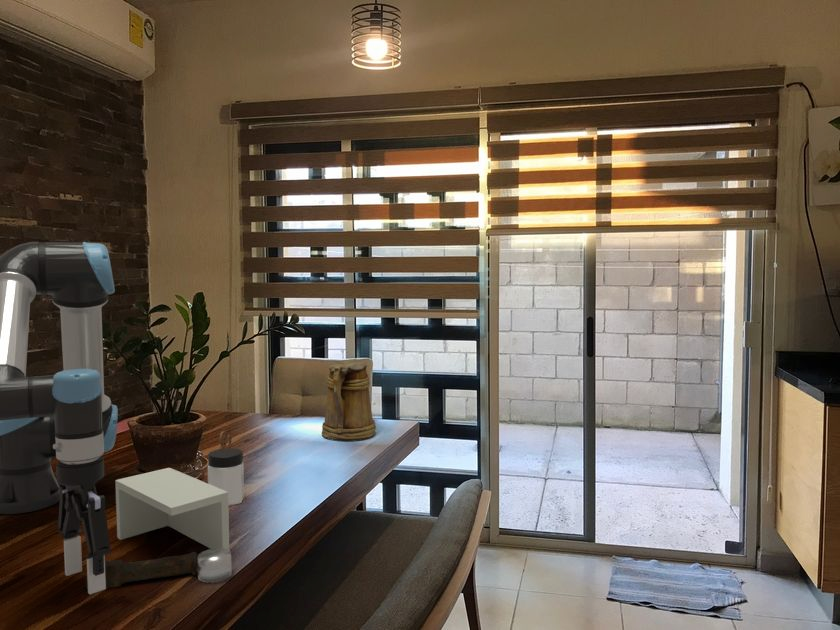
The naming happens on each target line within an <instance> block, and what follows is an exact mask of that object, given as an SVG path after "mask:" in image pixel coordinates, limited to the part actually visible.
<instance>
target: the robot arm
mask: <svg viewBox="0 0 840 630" xmlns="http://www.w3.org/2000/svg"><path fill="white" fill-rule="evenodd" d="M115 291H116V289H115V283H114V278H113V270H112V266H111V260H110V253H109V250H108V248H107V246H106V245H104V244H103V243H97V242H86V241H78V242H77V241H76V242H75V241H74V242H72V241H71V242H70V241H69V242H65V241H64V242H62V241H61V242H60V241H59V242H58V241H57V242H52V241H51V242H49V241H48V242H47V241H45V242H41V241H30V242H29V241H28V242H25V243H21V244H18V245H15V246H14V247H12V248H10V249H8V250H7V251H5V252H4V253H2V254H1V255H0V515H17V514H24V513H31V512H35V511H39V510H43V509H46V508H49V507H51V506H53V505H55V504H57V503H58V502H59V503H58V504H59V505H58V506H59V507H58V521H57V522H58V523H57V531H58V533H61V537H62V539H63V553H64V554H63V556H64V560H63V561H64V575H65V576H66V577H67V576H71V575H74V574H78V573H81V572H83V561H82V560H83V559H82V557H83V556H82V539H81V538H82V536H80V535H81V534H83V533H84V534H83V535H84V536H85V538H84V539H85V542H86V546H87V551H88V554H86V555H85V556H84V558H85V560H86V571H87V572H86V576H87V579H88V588H87V593H88V594H89V595H93V594H96V593H98V592H101V591H104V590H106V589H107V588H106V579H105V561H106V560H105V558H106V556H105V555H108V554H111V552H112V548H111V544H110V543H111V541H110V536H109V528H108V527H109V526H108V521H107V513H106V512H107V511H106V497H105V495H103V494H101V495H99V494H98V490H97V489H96V483H98V482H99V481H101V480H103V478H104V476H105V458H104V457H103V456H102V455H104V453H106V452H110V451H111V450H112V449H113V447H115V443H116V438H117V432H118V431H117V430H118V418H119V416H118V414H119V413H118V412H119V411H118V406H117V405H115V404H112V401H111V398H110V397H109V396H108V395H106V394H105V384H104V383H105V381H104V377H105V376H104V349H103V346H104V345H103V321H102V320H103V317H102V316H103V314H102V313H103V312H102V307H104V306H105V305H106V304H107V303H108V302H109V295H112V294H114V293H115ZM37 295H46V296H47V295H49V296H50V295H51V301H52V303H53V304H54V306H56V307H58V308H59V312H60V328H61V331H60V332H61V348H62V349H61V350H62V366H63V370H61V371H58V372H56V373H55V374H51V375H39V376H38V375H37V376H32V375H31V376H27V360H28V343H29V342H28V341H29V325H30V309H31V308H30V307H31V303H32V302H33V301H34V300H35V297H36V296H37ZM54 458H56V459H57V460H58V461H57V463H55V469H56V473H54V471H53V468H52V459H54ZM55 474H56V475H55ZM81 524H82V525H81ZM80 526H82V528H83V529H81V527H80Z"/></svg>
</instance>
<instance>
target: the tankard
mask: <svg viewBox="0 0 840 630" xmlns="http://www.w3.org/2000/svg"><path fill="white" fill-rule="evenodd" d="M367 367H368V365H367V363H366V362H365V361H362V360H358V359H356V358H353V359H343V360H339V361H336V362H334V363H331V364H330V365H329V366H328V370H329V375H328V376H327V380H326V386H327V397H326V406H325V413H324V414H325V415H324V422H322V426H321V427H322V431H321V436H322V437H324V438H326V439H327V440H331V439H333V440H332V441H336V440H338V441H339V440H342V441H341V442H352V441H351V440H357V441H362V439H363V440H365V439H366V440H367V439H369V438H371V437H374V436H375V434H376V429H377V426H376V422H375V421H374V419H373V413H372V405H371V404H372V403H371V398H370V397H371V396H370V388H369V387H370V386H371V383H370V376H369V374H368V372H367Z"/></svg>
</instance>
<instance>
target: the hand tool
mask: <svg viewBox="0 0 840 630" xmlns="http://www.w3.org/2000/svg"><path fill="white" fill-rule="evenodd" d="M197 557H198V556H197V552H196V551H191V552H189V553H187V554H182V555H181V554H180V555H174V556H173V555H171V556H164V557H161V558H155V559H148V560H141V561H140V560H139V561H130V562H128V561H127V562H124V560H123V559H115V560H109V561H108V560H107V561H106V560H105V579H106V589H107V588H109V589H110V588H119V587H121V586H122V585H123V584H126V583H130V582H131V583H132V582H138V581H146V580H150V579H152V580H153V579H159V578H167V577H174V576H183V575H186V574H192V575H193V576H194V575H195V576H197V572H198V558H197ZM84 583H85V588H87V589H88V579H87V575H85V582H84Z"/></svg>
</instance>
